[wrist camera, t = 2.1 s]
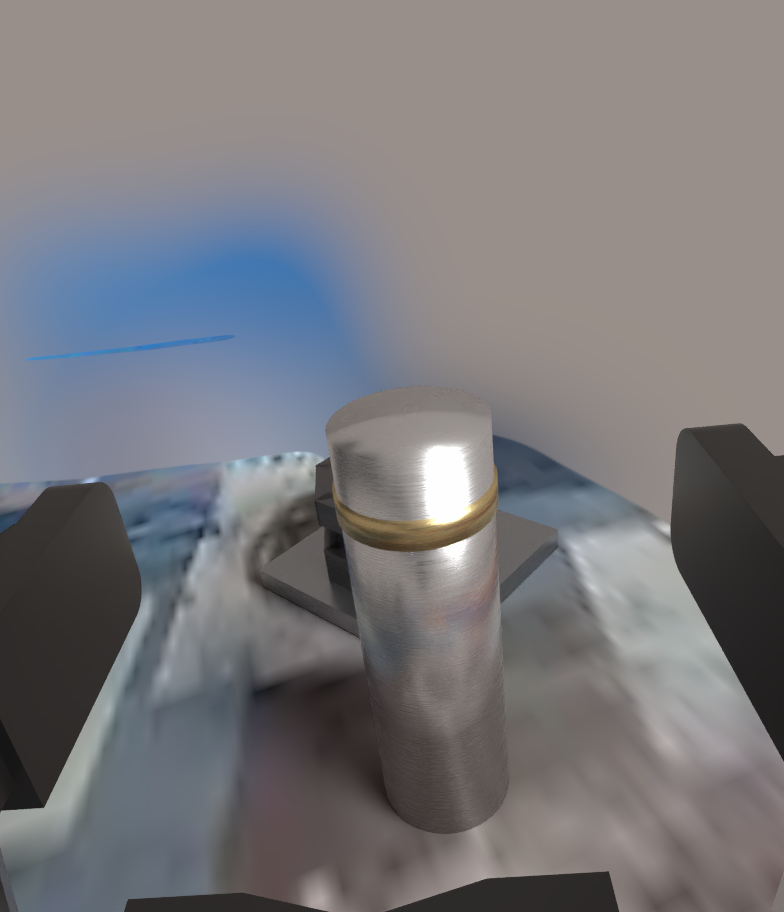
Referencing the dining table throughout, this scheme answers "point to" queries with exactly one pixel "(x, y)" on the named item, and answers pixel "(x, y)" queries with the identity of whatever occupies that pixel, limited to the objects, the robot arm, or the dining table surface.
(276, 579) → the collar stand
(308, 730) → the dining table surface
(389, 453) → the steel tube
